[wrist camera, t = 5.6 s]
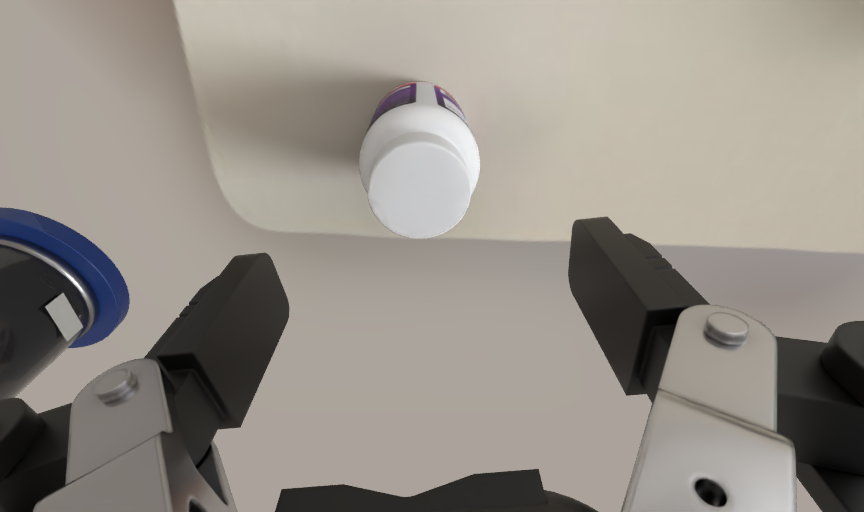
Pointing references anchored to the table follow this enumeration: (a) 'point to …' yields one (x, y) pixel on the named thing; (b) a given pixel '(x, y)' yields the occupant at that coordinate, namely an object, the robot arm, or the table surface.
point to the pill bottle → (419, 161)
